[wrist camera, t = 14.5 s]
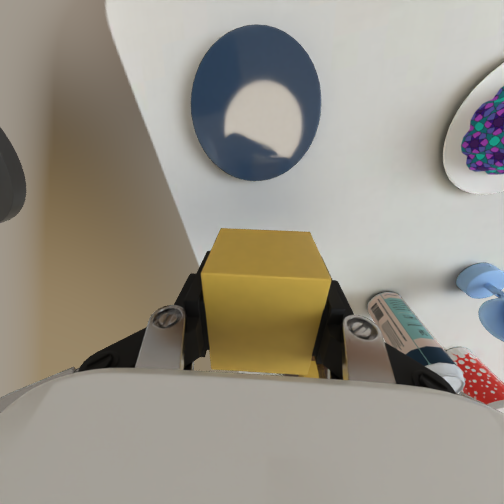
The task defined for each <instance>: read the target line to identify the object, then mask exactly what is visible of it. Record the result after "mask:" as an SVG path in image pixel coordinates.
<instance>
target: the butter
mask: <svg viewBox="0 0 504 504" xmlns="http://www.w3.org/2000/svg"><path fill="white" fill-rule="evenodd" d="M318 366H319V364H318ZM320 366H321V365H320ZM323 368H324V367H323ZM323 368H321V369H322V370H323ZM318 369H320V368H318ZM318 369H317V365H316V361H311V363H310V367H309V371H308V375H299V377H307V378H322V377H321V376H323V377H324V376H325V375H324V374H323V375H321V374H320V373H319V372H318ZM321 369H320V370H319V371H322V370H321ZM323 372H324V370H323V371H322V373H323ZM319 375H320V376H319ZM323 379H326V377H324V378H323Z"/></svg>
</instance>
